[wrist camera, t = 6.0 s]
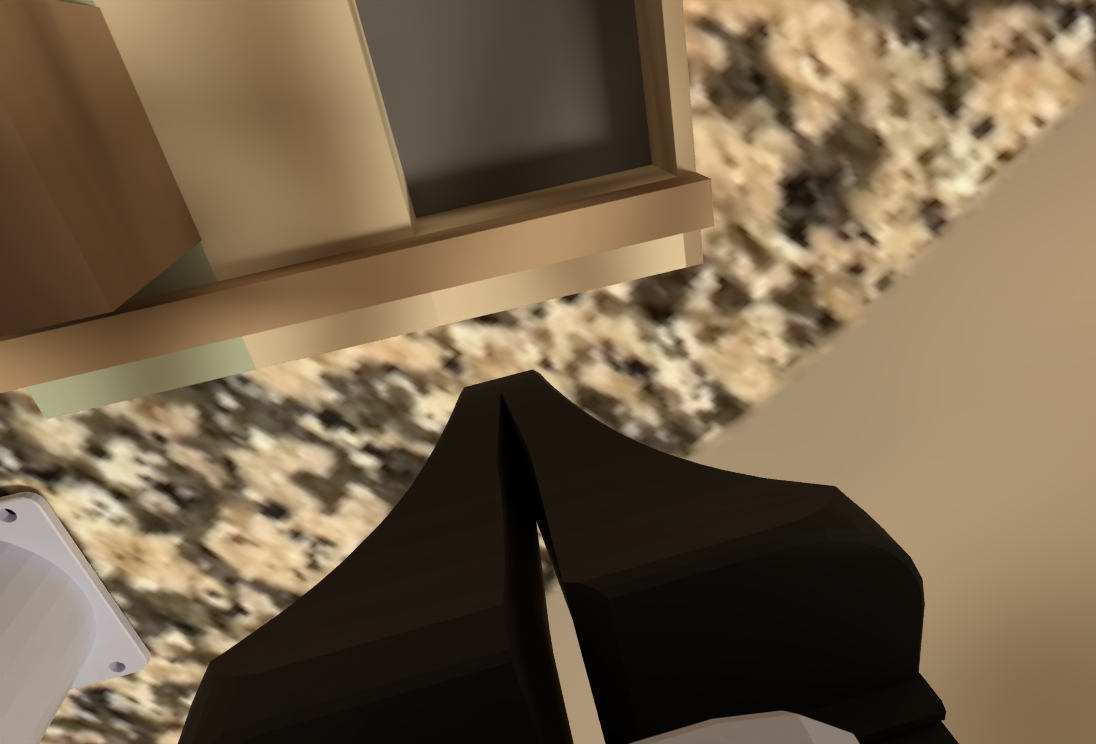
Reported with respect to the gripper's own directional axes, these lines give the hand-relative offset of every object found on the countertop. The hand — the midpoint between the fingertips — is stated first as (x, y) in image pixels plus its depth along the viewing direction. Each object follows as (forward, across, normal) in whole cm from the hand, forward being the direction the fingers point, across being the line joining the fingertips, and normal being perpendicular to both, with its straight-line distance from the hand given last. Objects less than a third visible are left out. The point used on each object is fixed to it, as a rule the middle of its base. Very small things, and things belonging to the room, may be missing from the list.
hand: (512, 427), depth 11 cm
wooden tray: (+9, +3, -6) cm, 11 cm away
